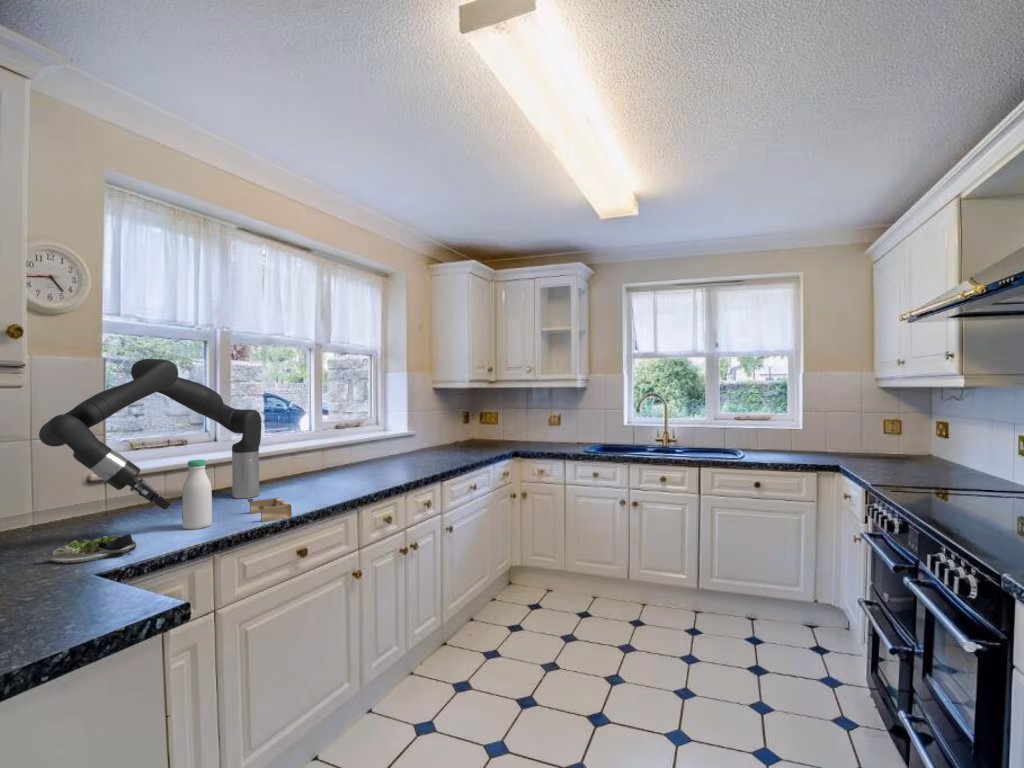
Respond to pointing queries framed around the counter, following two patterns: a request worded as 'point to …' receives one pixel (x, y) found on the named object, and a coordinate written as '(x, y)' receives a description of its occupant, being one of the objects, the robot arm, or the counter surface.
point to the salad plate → (92, 549)
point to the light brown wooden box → (270, 508)
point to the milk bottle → (196, 497)
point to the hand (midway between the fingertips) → (167, 506)
